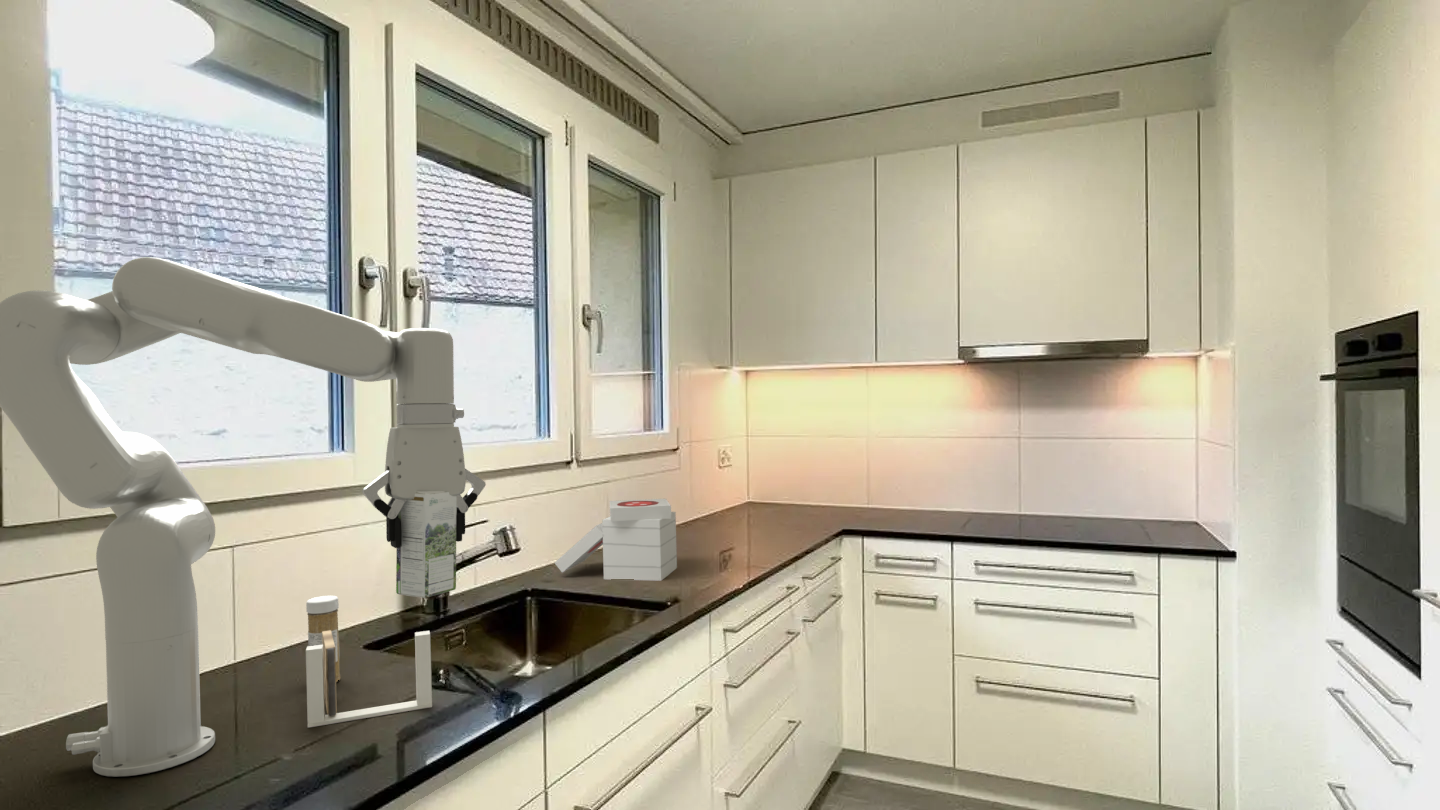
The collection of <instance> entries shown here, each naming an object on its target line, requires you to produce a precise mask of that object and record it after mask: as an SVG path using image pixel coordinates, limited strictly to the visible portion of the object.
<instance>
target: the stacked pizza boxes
mask: <svg viewBox="0 0 1440 810" xmlns="http://www.w3.org/2000/svg"><path fill="white" fill-rule="evenodd" d="M676 513H677V512H676V511H672V505H671V504H670V502H669V501H668V500H667V498H648V499H647V498H646V499H626V500H623V499H622V500H609V515H610V516H608V517H605V518H603V519H601V521H602V522H601V523H599V524H596V525H595V526H594V527H593V528H592V529H590V530H589V531H588V532H587V533H586V534H585V535H584V536H582V538H580V539H579V541H577V542H576V543H575V544H574V545H573V546H572V547H571V548H569V549H568V550H567V551H566V552H565V553H564V554H562V555H561V557H559V558H557V560H556V561H554V564H555V566H556V567H557V569H559V571H560V572H561V573H564V572H567V571H568V570H570V569H572V568H574V567H576V566H577V565H579V564H581V563H583V562H585V561H586V560H587V559H588V558H589V557H591V555H593V554H594V553H595V552H596V551H597V550H598V549H600V548H601V546H602V556H603V557H602V562H603V563H602V564H603V580H611V579H634V580H633V581H658V582H659V581H663V580H665V578H667V577H668V576H669V575H671V573H673V572H674V571H676V569H677V568H678V560H677V559H678V557H677V556H678V555H677V521H676V519H677V516H676V515H677V514H676Z"/></svg>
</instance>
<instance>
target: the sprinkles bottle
mask: <svg viewBox="0 0 1440 810" xmlns="http://www.w3.org/2000/svg"><path fill="white" fill-rule="evenodd" d="M339 603H340V602H339V597H338V596H336V595H321V596H315V597H312V598H310V599H307V601H306V607H305V608H306V613H307V621H308V623H307V625H308V626H307V627H308V631H307V638H308V644H307V645H308V646H315V645H322V631H329V630H331V633H332V636H333V640H334V644H335V655H336V683H337V682H339V681H340V680H341V674H340V654H341V653H340V639H339V638H340V637H339V619H338V618H339V617H338V616H339V615H338V612H339ZM338 680H339V681H338Z"/></svg>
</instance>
